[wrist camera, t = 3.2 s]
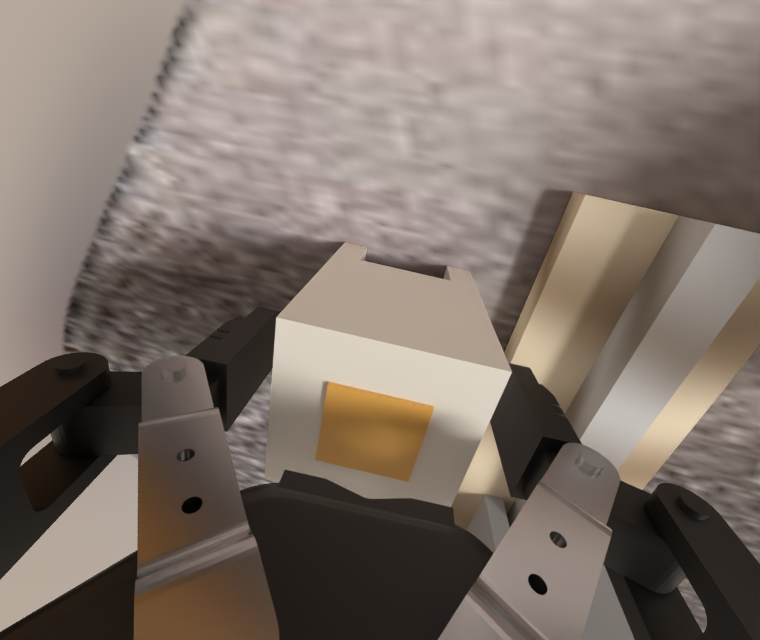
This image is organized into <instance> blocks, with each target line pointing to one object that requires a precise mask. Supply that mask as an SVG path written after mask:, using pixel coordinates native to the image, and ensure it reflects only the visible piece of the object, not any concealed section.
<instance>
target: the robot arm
mask: <svg viewBox="0 0 760 640" xmlns="http://www.w3.org/2000/svg"><path fill="white" fill-rule="evenodd" d="M279 314H280V312H279V311H274V310H270V309H265V308H261V307H257V308H256V309H255V310H254V311H252V312H251V313H250V314H249V315H248V316H247V317H246V318H242V317H238V318H236V319H233V320H230V321H228V322H226V323H224V324H223V325H222V326H221V327H220V328H218V329H217V331H215V332H214V333H212V334H211V335H210V337H208V338H206V339H205V340H204V341H203V342H202V343H200V344H199V345H198V346H197V347H195V348H194V349H193V350H192V351H191V352H189V353H188V354H187V355H186V356H170V357H165V358H161V359H158V360H156V361H154V362H152V363H150V364H149V365H147V366H146V367H145V368H144V369H143V371H142V372H116V371H110V370H109V365H108V361H107V359H106V358H105V357H104V356H102V355H99V354H95V353H86V352H81V353H70V354H65V355H61V356H57V357H54V358H51V359H50V360H47V361H45V362H43V363H41V364H39V365H38V366H36V367H34V368H32V369H30V370H29V371H27V372H25V373H24V374H22V375H20V376H18V377H17V378H15V379H13V380H12V381H10V382H8V383H6V384H5V385H3V386H1V387H0V579H1V578H2V577H3V576H4V575H5V574H6V573H7V572H8V571H9V570H10V569H11V568H12V567H13V565H14V564H15V563H16V562H17V561H18V560H19V559H20V558H21V557H22V556H23V555H24V554H25V553H26V552H27V551H28V549H29V548H30V547H31V546H32V545H33V544H34V543H35V542H36V541H37V540H38V539H39V538H40V537H41V536H42V534H44V532H45V531H46V530H47V529H48V528H49V527H50V526H51V525H52V524H53V523H54V522H55V521H56V520H57V519H58V517H59V516H60V515H61V514H62V513H63V512H64V511H65V510H66V509H67V508H68V507H69V506H70V505H71V504H72V503H73V502H74V500H75V499H76V498H77V497H78V496H79V495H80V494H81V493H82V492H83V491H84V490H85V489H86V488H87V487H88V486H89V484H90V483H91V482H92V481H93V480H94V479H95V478H96V477H97V476H98V475H99V474H100V473H101V472H102V471H103V470H104V469H105V468H106V466H107V465H108V464H109V463H110V462H111V461H112V460H113V459H114V458H115V457H116V456H117V455H121V454H122V455H124V454H138V550H137V551H135V552H133V553H132V554H130V555H128V556H127V557H125V558H123V559H122V560H120V561H118V562H117V563H115V564H113V565H112V566H110V567H108V568H107V569H105V570H103V571H102V572H100V573H98V574H97V575H95V576H93V577H92V578H90V579H88V580H86V581H85V582H83V583H82V584H80V585H78V586H76V587H75V588H73V589H72V590H70V591H68V592H67V593H65V594H63V595H61V596H60V597H58V598H56V599H55V600H53V601H51V602H50V603H48V604H46V605H45V606H43V607H41V608H40V609H38V610H36V611H35V612H33V613H31V614H30V615H28V616H26V617H25V618H23V619H21V620H20V621H18V622H16V623H15V624H13V625H11V626H10V627H8V628H6V629H5V630H3V631H1V632H0V640H581V638H582V635H583V631H584V628H585V624H586V621H587V618H588V614H589V611H590V607H591V604H592V600H593V597H594V594H595V590H596V587H597V583H598V580H599V577H600V573H601V570H602V566H603V565H604V566H605V568H606V571H607V573H608V576H609V578H610V581H611V583H612V585H613V588H614V590H615V593H616V595H617V598H618V600H619V603H620V605H621V607H622V610H623V612H624V615H625V617H626V620H627V622H628V625H629V627H630V629H631V632H632V634H633V637H634V639H635V640H760V564H759V563H758V561H757V560H756V559H755V558H754V556H753V555H752V554H751V553H750V551H749V550H748V549H747V548H746V546H745V545H744V544H743V543H742V541H741V540H740V539H739V538H738V536H737V535H736V534H735V533H734V531H733V530H732V529H731V528H730V526H729V525H728V524H727V523H726V521H725V520H724V519H723V518H722V517H721V515H720V514H719V513H718V512H717V511H716V510H715V509H714V508H713V507H712V506H711V505H709V504H708V503H707V502H706V501H704V500H703V499H702V498H700V497H699V496H697V495H696V494H694V493H692V492H691V491H689V490H687V489H685V488H683V487H680V486H678V485H675V484H671V483H661V484H659V485H658V486H657V488H656V489H655V490H654V491H653V493H652V494H650V493H648V492H645V491H643V490H641V489H639V488H636V487H634V486H632V485H630V484H627V483H625V482H623V481H621V480H620V476H619V473H618V471H617V470H616V468H615V467H614V466H613V464H612V463H611V462H610V461H609V460H608V459H607V458H605V457H604V456H603V455H601V454H600V453H599V452H597V451H595V450H594V449H592V448H590V447H587V446H585V445H582V443H581V441H580V440H579V438H578V436H577V434H576V433H575V431H574V429H573V427H572V426H571V424H570V422H569V421H568V419H567V418H566V417H565V414H564V412H563V410H562V408H560V405H559V403H558V402H557V400H556V398H555V396H554V395H553V394H552V393H551V392H550V391H549V390H548V389H547V388H546V387H544V386H543V385H542V384H539V383H538V381H537V379H536V378H535V376H534V374H533V372H532V370H531V369H530V368H529V367H525V366H521V365H516V364H512V363H509V366H510V368H511V371H512V373H511V376H510V378H509V380H508V382H507V384H506V387H505V389H504V391H503V393H502V395H501V398H500V400H499V402H498V404H497V407H496V409H495V411H494V413H493V415H492V418H491V420H490V424H491V427H492V431H493V435H494V438H495V442H496V445H497V449H498V453H499V456H500V460H501V464H502V467H503V471H504V475H505V478H506V482H507V486H508V489H509V493H510V497H514V498H518V499H523V500H527V502H526V503H525V505H524V506H523V508H522V509H521V511H520V513H519V514H518V516H517V517H516V519H515V520H514V522H513V524H512V525H511V527H510V528H509V530H508V531H507V533H506V535H505V536H504V538H503V539H502V541H501V543H500V544H499V546H498V547H497V549H496V550H495V552H494V553H493V552H492V551H491V550H490V549H489V548H488V547H487V546H486V545H485V544H484V543H483V542H482V541H480V540H479V539H478V538H477V537H475V536H474V535H473V534H472V533H470V532H469V531H467V530H466V529H464V528H462V527H461V526H459V525H457V524H455V522H454V512H453V507H448V506H444V505H440V504H435V503H431V502H426V501H422V500H417V499H413V498H390V499H368V498H365V497H362V496H360V495H358V494H356V493H354V492H352V491H350V490H348V489H346V488H344V487H342V486H340V485H338V484H336V483H334V482H332V481H330V480H328V479H325V478H321V477H316V476H312V475H307V474H303V473H298V472H294V471H290V470H284V473H283V475H282V477H281V479H280V482H279V483H270V484H262V485H257V486H253V487H249V488H246V489H244V490H241V491H240V490H239V486H238V482H237V478H236V474H235V470H234V466H233V462H232V458H231V455H230V451H229V447H228V443H227V439H226V435H225V431H228V430H229V428H230V427H231V425H232V424H233V423H234V421H235V420H236V418H237V417H238V416H239V414H240V413H241V411H242V410H243V409H244V407H245V406H246V404H247V403H248V402H249V400H250V399H251V397H252V396H253V395H254V393H255V392H256V390H257V389H258V387H259V386H260V385H261V383H262V382H263V380H264V379H265V378H266V376H267V375H268V373H269V372H270V371H271V369H272V368H273V356H274V342H275V328H276V317H277V316H278V315H279ZM50 433H51V436H52V441H51V442H50V443H48V444H47V445H46V446H45V447H44V448H42V449H41V450H40V451H39V452H38V453H37V454H35V455H34V456H33V457H31V458H30V459H29V460H28V461H27V462H25V463H24V464H23V465H22V466H20V465H21V462H22V460H23V458H24V457H25V455H26V454H27V453H28V452H29V450H30V449H32V448H33V447H34V446H35V445H36V444H38V443H39V442H40V441H41V440H43V439H44V438H45V437H46V436H48V435H49V434H50ZM686 577H687V578H688V580H689V582H690V584H691V585H692V587H693V589H694V590H695V592H696V594H697V595H698V597H699V599H700V600H701V602H702V604H703V606H704V608H705V611H706V615H707V627H706V630H705V632H704V633H703V632H702V631H701V629H700V627H699V625H698V624H697V622H696V620H695V618H694V616H693V615H692V613H691V611H690V609H689V607H688V606H687V604H686V602H685V600H684V599H683V597H682V595H681V593H680V591H679V590H678V588H677V586H678V585H679V584H680V583H681V582H682V581H683V580H684V579H685V578H686Z"/></svg>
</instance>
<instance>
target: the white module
mask: <svg viewBox="0 0 760 640" xmlns="http://www.w3.org/2000/svg"><path fill="white" fill-rule="evenodd" d="M366 251H367V247H363V246H358V245H354V244H350V243H344V244H343V245H342V246H341V247H340V248H339V249H338V250H337V252H336V253H335V254H334V255H333V256H332V257H331V258H330V259H329V260H328V261H327V262H326V264H325V265H324V266H323V267H322V268H321V269H320V270H319V271H318V272H317V273H316V274H315V276H314V277H313V278H312V279H311V280H310V281H309V282H308V283H307V284H306V285H305V286H304V288H303V289H302V290H301V291H300V292H299V293H298V294H297V295H296V296H295V297H294V298H293V300H292V301H291V302H290V303H289V304H288V305H287V306H286V307H285V308H284V309H283V310H282V312H281V313H280V314H279V315H278V316H277V317H276V328H275V342H274V356H273V370H272V383H271V397H270V411H269V425H268V439H267V453H266V467H265V479H267V480H271V481H275V482H280V479H281V477H282V475H283V473H284V470H290V471H294V472H298V473H303V474H307V475H312V476H316V477H321V478H325V479H328V480H330V481H332V482H334V483H336V484H338V485H340V486H342V487H344V488H346V489H348V490H350V491H352V492H354V493H356V494H358V495H360V496H362V497H365V498H368V499H390V498H413V499H417V500H422V501H426V502H431V503H435V504H440V505H444V506H448V507H451V506H452V503H453V501H454V499H455V497H456V495H457V492H458V490H459V488H460V486H461V484H462V481H463V479H464V477H465V475H466V473H467V470H468V468H469V466H470V464H471V462H472V459H473V457H474V455H475V453H476V451H477V448H478V446H479V444H480V442H481V440H482V437H483V435H484V433H485V431H486V429H487V426H488V424H489V422H490V420H491V418H492V415H493V413H494V411H495V409H496V407H497V404H498V402H499V400H500V398H501V395H502V393H503V391H504V389H505V387H506V384H507V382H508V380H509V378H510V376H511V373H512V371H511V368H510V366H509V363H508V361H507V359H506V356H505V354H504V352H503V349H502V347H501V344H500V342H499V340H498V337H497V335H496V333H495V330H494V328H493V325H492V323H491V321H490V318H489V316H488V313H487V311H486V309H485V306H484V304H483V302H482V299H481V297H480V294H479V292H478V290H477V287H476V285H475V282H474V280H473V278H472V275H471V273H470V271H468V270H463V269H459V268H454V267H450V266H447V268H446V271H445V275H444V278H443V279H441V278H437V277H432V276H428V275H424V274H419V273H415V272H410V271H406V270H402V269H397V268H393V267H389V266H384V265H380V264H376V263H371V262H367V261H365V257H366Z"/></svg>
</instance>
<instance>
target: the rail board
mask: <svg viewBox="0 0 760 640" xmlns="http://www.w3.org/2000/svg"><path fill="white" fill-rule="evenodd" d="M759 345H760V234H759V233H755V232H750V231H746V230H741V229H737V228H732V227H728V226H724V225H719V224H715V223H710V222H706V221H701V220H697V219H692V218H688V217H683V216H679V215H675V214H670V213H666V212H661V211H657V210H652V209H648V208H643V207H639V206H635V205H630V204H626V203H621V202H617V201H612V200H608V199H603V198H599V197H595V196H590V195H586V194H581V193H577V192H573V193H572V195H571V198H570V200H569V202H568V205H567V207H566V209H565V212H564V214H563V216H562V219H561V221H560V223H559V226H558V228H557V230H556V233H555V235H554V237H553V240H552V242H551V244H550V247H549V249H548V251H547V254H546V256H545V258H544V261H543V263H542V265H541V268H540V270H539V272H538V275H537V277H536V279H535V282H534V284H533V286H532V289H531V291H530V293H529V296H528V298H527V300H526V303H525V305H524V307H523V310H522V312H521V314H520V317H519V319H518V321H517V324H516V326H515V328H514V331H513V333H512V335H511V338H510V340H509V342H508V345H507V347H506V350H505V352H504V354H505V356H506V359H507V361H508V363H512V364H516V365H521V366H525V367H529V368H530V369H531V370H532V372H533V374H534V376H535V378H536V379H537V381H538V383H539V384H542V385H543V386H544V387H546V388H547V389H548V390H549V391H550V392H551V393H552V394H553V395H554V396H555V398H556V400H557V402H558V403H559V405H560V408H562V410H563V412H564V414H565V417H566V418H567V419H568V421H569V422H570V424H571V426H572V427H573V429H574V431H575V433H576V434H577V436H578V438H579V440H580V441H581V443H582V445H585V446H587V447H590V448H592V449H594V450H595V451H597V452H599V453H600V454H601V455H603V456H604V457H605V458H607V459H608V460H609V461H610V462H611V463H612V464H613V466H614V467H615V468H616V470H617V471H618V473H619V476H620V480H621V481H623V482H625V483H627V484H630V485H632V486H634V487H636V488H639V489H641V490H642V489H643V488H644V487H645V486H646V484H647V483H648V482H649V481H650V479H651V478H652V477H653V476H654V475H655V473H656V472H657V471H658V470H659V468H660V467H661V466H662V465H663V463H664V462H665V461H666V460H667V459H668V457H669V456H670V455H671V454H672V452H673V451H674V450H675V449H676V447H677V446H678V445H679V444H680V443H681V441H682V440H683V439H684V438H685V436H686V435H687V434H688V433H689V432H690V430H691V429H692V428H693V427H694V425H695V424H696V423H697V422H698V420H699V419H700V418H701V417H702V416H703V414H704V413H705V412H706V411H707V409H708V408H709V407H710V406H711V404H712V403H713V402H714V401H715V400H716V398H717V397H718V396H719V395H720V393H721V392H722V391H723V390H724V388H725V387H726V386H727V385H728V384H729V382H730V381H731V380H732V379H733V377H734V376H735V375H736V374H737V372H738V371H739V370H740V369H741V368H742V366H743V365H744V364H745V363H746V361H747V360H748V359H749V358H750V356H751V355H752V354H753V353H754V352H755V350H756V349H757V348H758V347H759ZM485 494H487V495H491V496H495V497H500V498H503V502H504V506H505V510H506V514H507V519H508V523H509V527H511V525H512V524H513V522H514V520H515V519H516V517H517V516H518V514H519V513H520V511H521V509H522V508H523V506H524V505H525V503H526V502H527V500H523V499H518V498H514V497H510V493H509V489H508V486H507V482H506V478H505V475H504V471H503V467H502V464H501V460H500V456H499V453H498V449H497V445H496V442H495V438H494V435H493V431H492V427H491V424H490V422H489V424H488V426H487V429H486V431H485V433H484V435H483V437H482V440H481V442H480V444H479V446H478V448H477V451H476V453H475V455H474V457H473V459H472V462H471V464H470V466H469V468H468V470H467V473H466V475H465V477H464V479H463V481H462V484H461V486H460V488H459V490H458V492H457V495H456V497H455V499H454V501H453V503H452V506H451V507H453V512H454V522H455V524H457V525H459V526H461V527H462V528H464V529H466V530H467V528H468V526H469V524H470V522H471V520H472V518H473V516H474V514H475V513H476V511H477V509H478V507H479V505H480V503H481V501H482V499H483V497H484V495H485Z"/></svg>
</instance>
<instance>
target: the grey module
mask: <svg viewBox="0 0 760 640" xmlns="http://www.w3.org/2000/svg"><path fill="white" fill-rule="evenodd" d="M509 528H510V527H509V523H508V519H507V514H506V510H505V506H504V502H503V498H500V497H495V496H491V495H487V494H485V495H484V497H483V499H482V501H481V503H480V505H479V507H478V509H477V511H476V513H475V514H474V516H473V518H472V520H471V522H470V524H469V526H468V528H467V531H469V532H470V533H472V534H473V535H474V536H475V537H477V538H478V539H479V540H480V541H482V542H483V543H484V544H485V545H486V546H487V547H488V548H489V549H490V550H491V551H492V552H493V553H494V552H495V550H496V549H497V547H498V546H499V544H500V543H501V541H502V539H503V538H504V536H505V535H506V533H507V531H508V530H509ZM581 640H635V639H634V637H633V634H632V632H631V629H630V627H629V625H628V622H627V620H626V617H625V615H624V612H623V610H622V607H621V605H620V603H619V600H618V598H617V595H616V593H615V590H614V588H613V585H612V583H611V581H610V578H609V576H608V573H607V571H606V568H605V566H604V565H603V566H602V570H601V573H600V577H599V580H598V583H597V587H596V590H595V594H594V597H593V600H592V604H591V607H590V611H589V614H588V618H587V621H586V624H585V628H584V631H583V635H582V638H581Z"/></svg>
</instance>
